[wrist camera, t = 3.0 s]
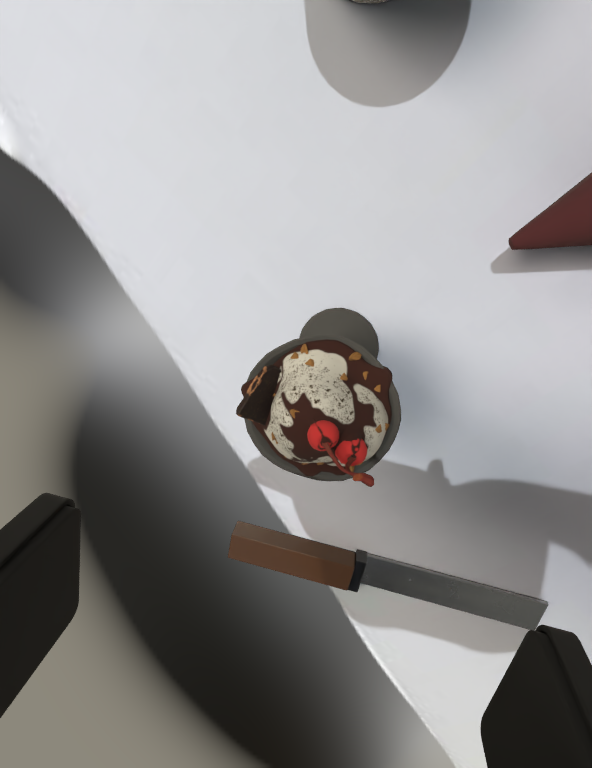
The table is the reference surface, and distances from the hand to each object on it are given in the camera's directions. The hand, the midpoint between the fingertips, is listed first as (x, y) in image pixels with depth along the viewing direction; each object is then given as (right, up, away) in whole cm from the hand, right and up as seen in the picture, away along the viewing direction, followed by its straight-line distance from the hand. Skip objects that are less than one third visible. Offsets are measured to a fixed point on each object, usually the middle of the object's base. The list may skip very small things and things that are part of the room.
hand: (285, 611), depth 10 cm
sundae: (+3, +7, +19) cm, 21 cm away
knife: (+8, -9, +25) cm, 27 cm away
